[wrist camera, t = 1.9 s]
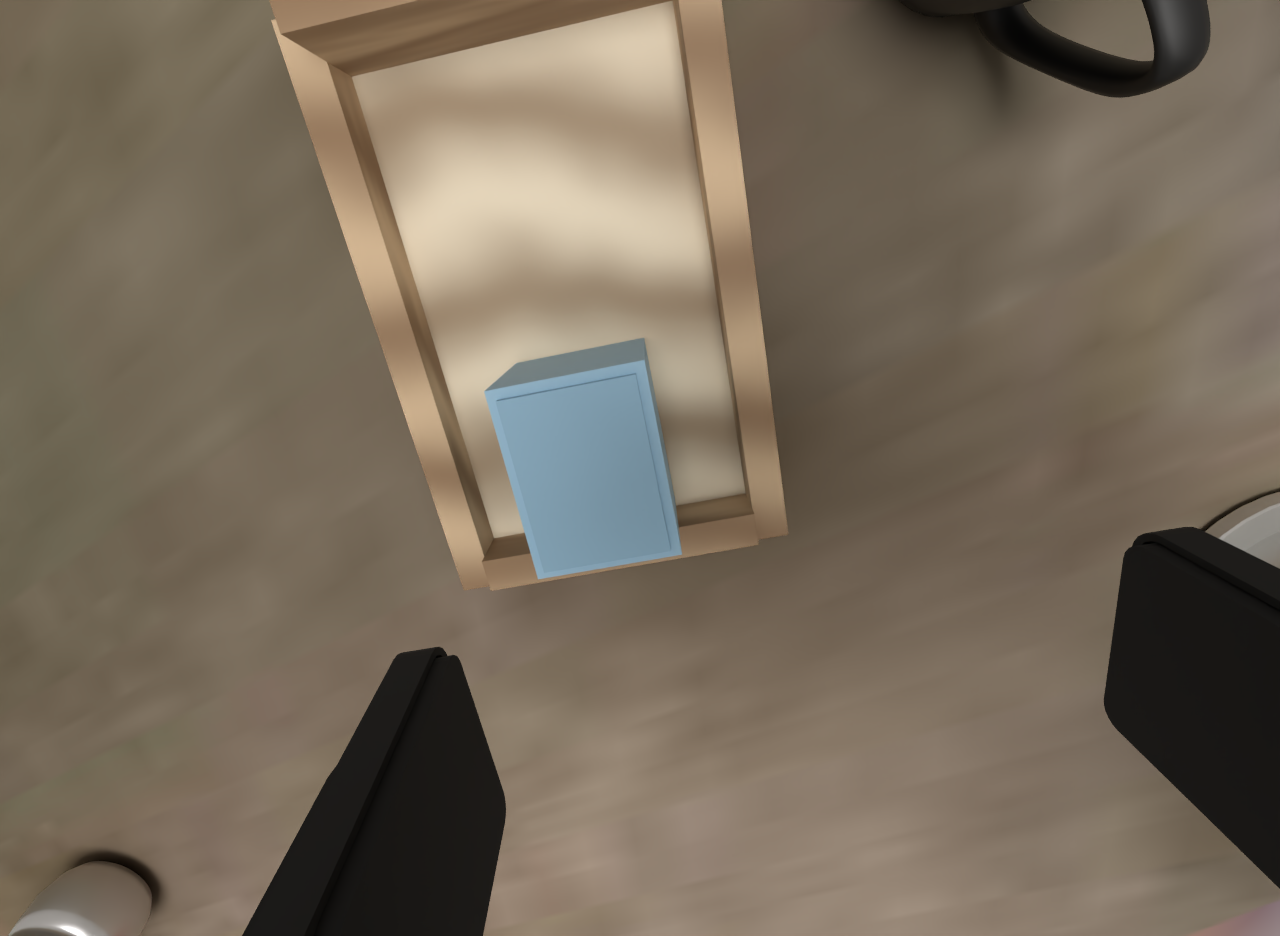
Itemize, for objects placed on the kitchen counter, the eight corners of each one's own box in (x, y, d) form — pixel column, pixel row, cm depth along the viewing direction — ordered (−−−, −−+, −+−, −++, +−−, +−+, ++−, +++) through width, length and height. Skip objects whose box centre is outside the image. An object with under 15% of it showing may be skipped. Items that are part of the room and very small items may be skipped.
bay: (775, 509, 31) (804, 565, 26) (479, 561, 32) (445, 626, 27) (702, -47, 23) (720, -142, 18) (314, 47, 25) (215, -15, 19)
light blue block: (674, 497, 30) (682, 558, 24) (557, 518, 30) (536, 583, 24) (644, 337, 27) (644, 361, 21) (516, 362, 28) (481, 393, 22)
